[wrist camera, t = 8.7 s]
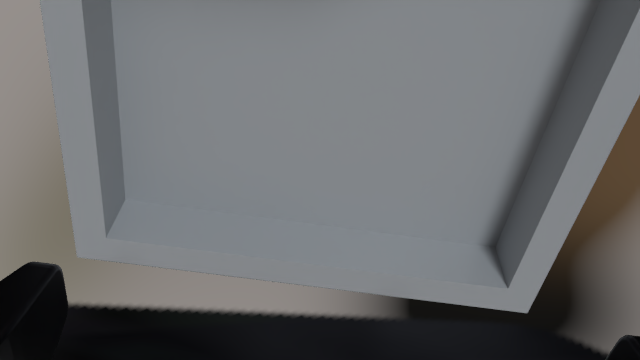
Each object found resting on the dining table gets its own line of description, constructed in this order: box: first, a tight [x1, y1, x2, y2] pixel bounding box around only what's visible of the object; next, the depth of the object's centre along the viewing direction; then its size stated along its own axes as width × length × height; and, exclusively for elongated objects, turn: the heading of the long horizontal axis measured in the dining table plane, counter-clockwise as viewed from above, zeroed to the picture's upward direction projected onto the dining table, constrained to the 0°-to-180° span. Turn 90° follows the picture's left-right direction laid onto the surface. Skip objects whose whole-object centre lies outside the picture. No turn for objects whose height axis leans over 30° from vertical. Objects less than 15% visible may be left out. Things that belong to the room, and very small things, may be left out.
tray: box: [40, 0, 640, 313], centre depth 16 cm, size 15×15×3 cm
